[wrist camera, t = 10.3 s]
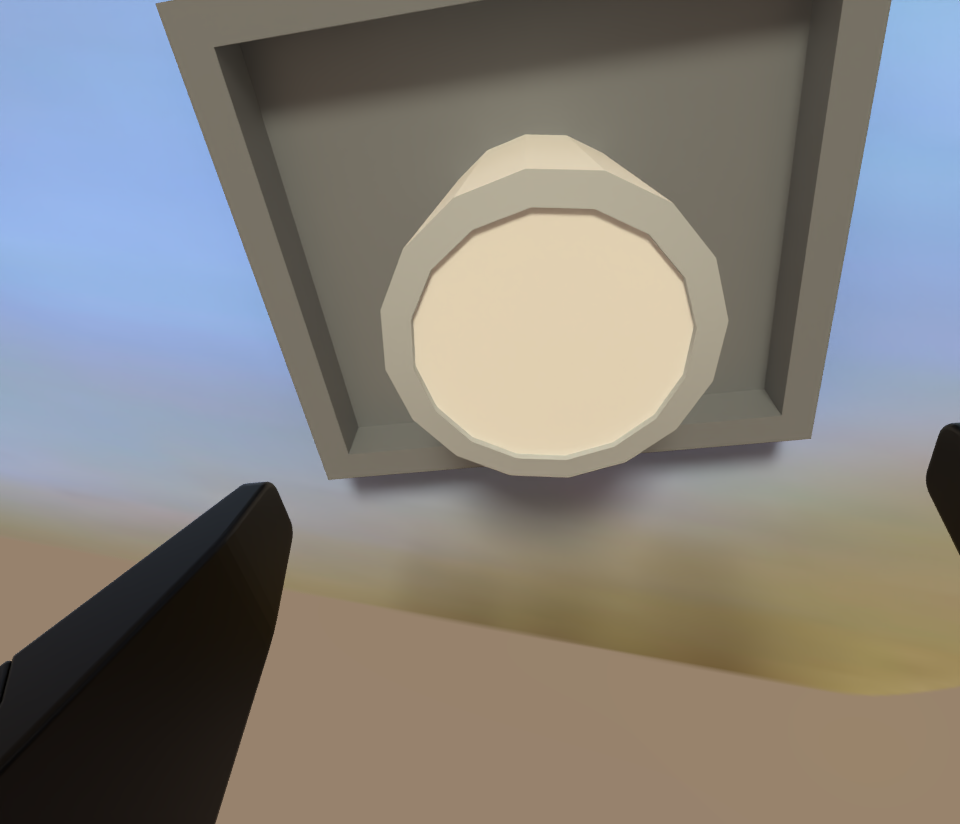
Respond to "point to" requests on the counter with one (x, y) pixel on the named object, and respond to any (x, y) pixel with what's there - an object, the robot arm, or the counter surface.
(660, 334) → the cream cup
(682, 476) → the counter surface
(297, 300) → the tray
